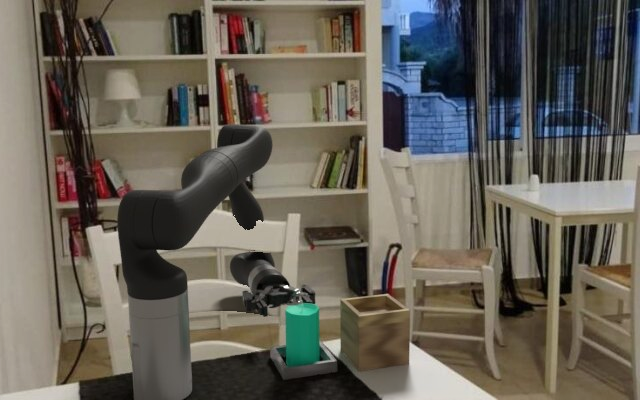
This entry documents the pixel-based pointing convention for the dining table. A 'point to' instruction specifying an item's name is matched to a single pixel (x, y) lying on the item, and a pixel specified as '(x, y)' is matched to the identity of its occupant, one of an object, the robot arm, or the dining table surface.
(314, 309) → the candle
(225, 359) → the dining table surface
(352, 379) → the dining table surface
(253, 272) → the robot arm
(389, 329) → the wooden storage box
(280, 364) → the grey square tray
